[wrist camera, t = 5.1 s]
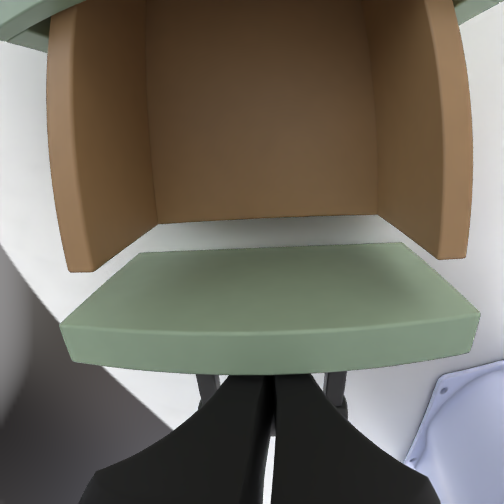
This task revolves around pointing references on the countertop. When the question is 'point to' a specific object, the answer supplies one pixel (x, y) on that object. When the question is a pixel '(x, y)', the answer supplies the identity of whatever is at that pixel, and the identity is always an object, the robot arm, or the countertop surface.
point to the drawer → (262, 181)
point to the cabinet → (49, 3)
